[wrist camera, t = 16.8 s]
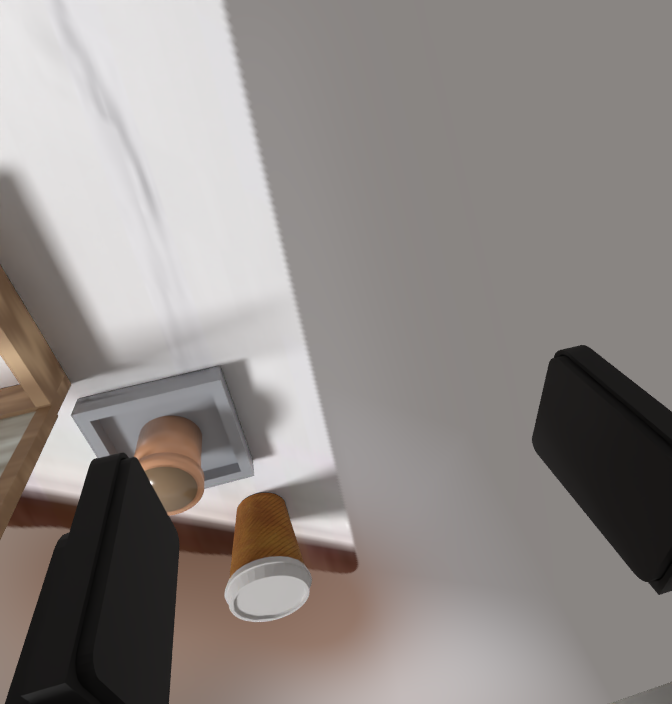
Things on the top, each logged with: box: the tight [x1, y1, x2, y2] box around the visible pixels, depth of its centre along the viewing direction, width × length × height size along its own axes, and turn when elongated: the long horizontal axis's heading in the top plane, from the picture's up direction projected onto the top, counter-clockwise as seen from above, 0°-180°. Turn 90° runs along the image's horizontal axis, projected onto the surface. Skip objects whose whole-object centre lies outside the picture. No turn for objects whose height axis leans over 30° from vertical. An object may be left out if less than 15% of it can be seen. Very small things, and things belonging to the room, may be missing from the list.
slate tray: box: [71, 366, 254, 489], centre depth 47 cm, size 14×14×2 cm
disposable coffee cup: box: [225, 493, 312, 622], centre depth 52 cm, size 10×10×12 cm
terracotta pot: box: [134, 416, 205, 516], centre depth 44 cm, size 7×7×7 cm
